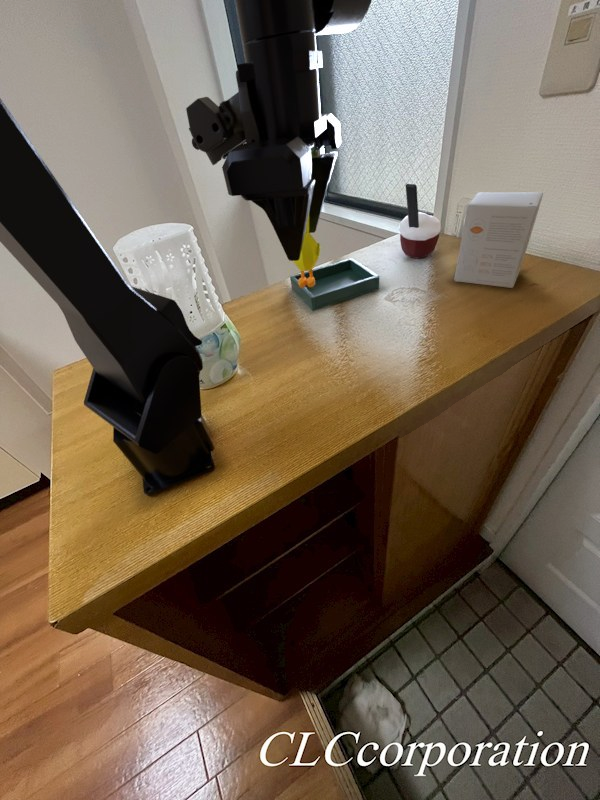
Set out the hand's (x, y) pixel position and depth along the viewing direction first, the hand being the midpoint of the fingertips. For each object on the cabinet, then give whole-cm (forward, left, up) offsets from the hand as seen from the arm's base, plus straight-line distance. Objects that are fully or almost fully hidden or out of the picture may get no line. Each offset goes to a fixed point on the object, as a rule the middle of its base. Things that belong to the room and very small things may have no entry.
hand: (303, 245), depth 37 cm
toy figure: (0, -1, -4) cm, 4 cm away
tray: (+8, +11, -12) cm, 18 cm away
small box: (+28, 0, -12) cm, 31 cm away
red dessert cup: (+25, +13, -12) cm, 31 cm away
